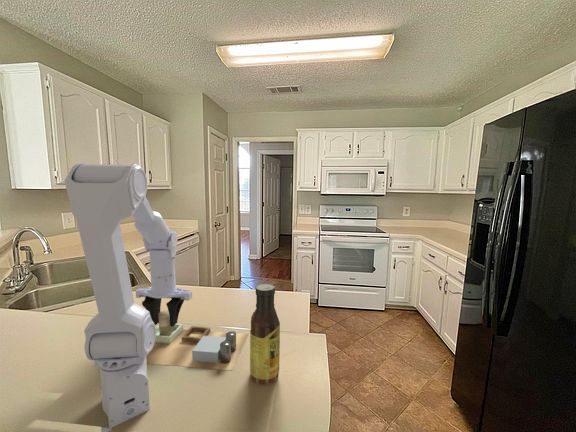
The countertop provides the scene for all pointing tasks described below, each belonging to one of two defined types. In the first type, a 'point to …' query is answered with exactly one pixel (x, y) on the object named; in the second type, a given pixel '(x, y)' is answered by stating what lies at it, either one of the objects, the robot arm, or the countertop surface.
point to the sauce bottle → (264, 337)
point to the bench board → (183, 346)
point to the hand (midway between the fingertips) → (165, 323)
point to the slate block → (208, 349)
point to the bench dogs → (227, 347)
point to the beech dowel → (164, 323)
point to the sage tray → (169, 339)
